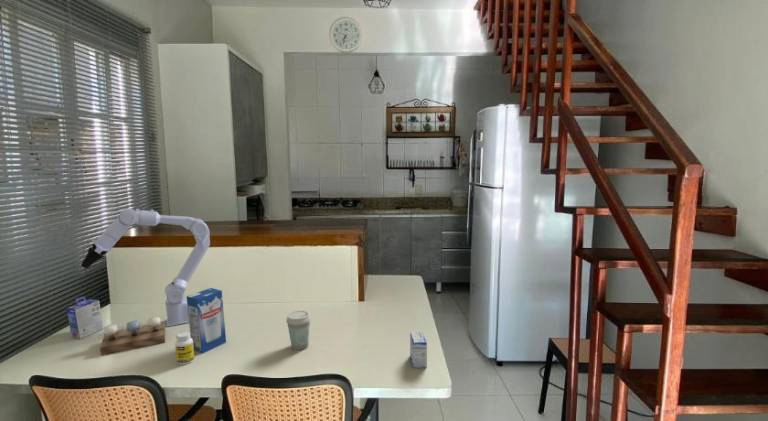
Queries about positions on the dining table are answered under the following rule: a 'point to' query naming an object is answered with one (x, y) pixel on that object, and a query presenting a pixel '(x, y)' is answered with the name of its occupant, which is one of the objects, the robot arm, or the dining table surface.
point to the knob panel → (132, 339)
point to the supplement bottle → (184, 348)
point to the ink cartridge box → (84, 318)
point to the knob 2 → (154, 322)
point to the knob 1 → (110, 330)
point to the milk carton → (206, 319)
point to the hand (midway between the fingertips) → (85, 264)
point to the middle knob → (133, 326)
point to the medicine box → (418, 349)
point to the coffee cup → (299, 329)
